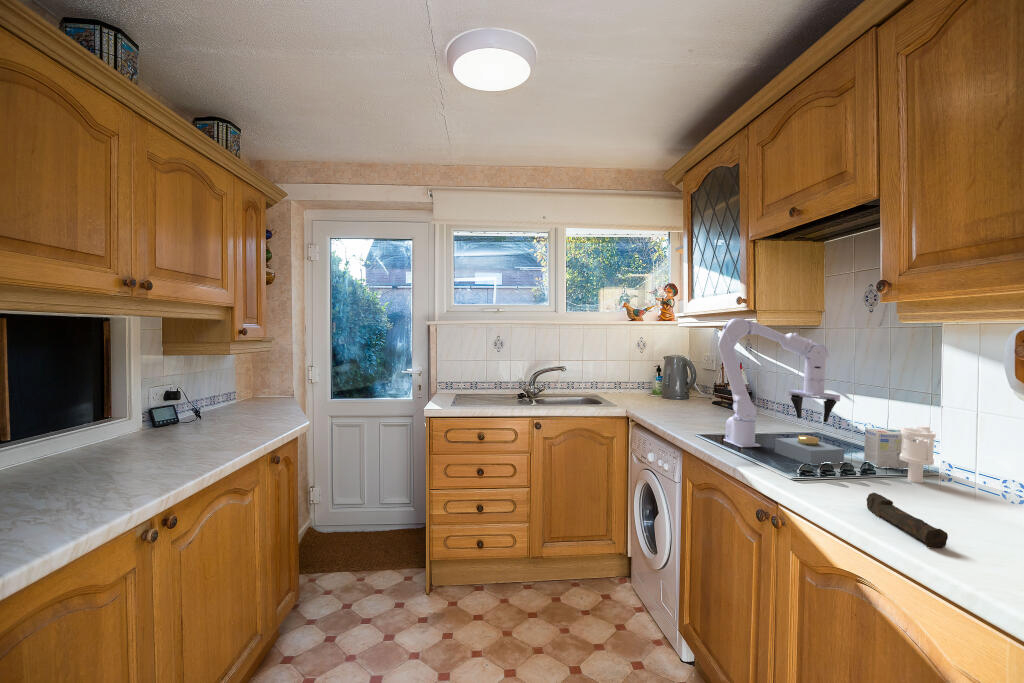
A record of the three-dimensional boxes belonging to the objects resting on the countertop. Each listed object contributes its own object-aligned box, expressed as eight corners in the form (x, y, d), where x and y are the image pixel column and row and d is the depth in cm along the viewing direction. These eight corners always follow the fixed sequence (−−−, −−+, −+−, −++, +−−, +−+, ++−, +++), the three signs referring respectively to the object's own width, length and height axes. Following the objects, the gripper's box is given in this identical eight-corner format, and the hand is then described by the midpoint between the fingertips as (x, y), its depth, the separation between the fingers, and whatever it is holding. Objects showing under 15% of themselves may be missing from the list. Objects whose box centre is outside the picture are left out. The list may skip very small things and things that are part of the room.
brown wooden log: (948, 551, 87) (950, 527, 87) (925, 549, 88) (927, 525, 87) (880, 510, 106) (881, 490, 106) (861, 509, 106) (862, 489, 106)
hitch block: (774, 452, 151) (775, 438, 151) (805, 450, 154) (806, 437, 153) (810, 465, 138) (811, 450, 137) (843, 463, 140) (844, 449, 140)
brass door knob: (792, 454, 148) (793, 435, 147) (807, 453, 149) (808, 434, 149) (807, 459, 142) (808, 440, 142) (822, 458, 143) (823, 439, 143)
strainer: (939, 484, 123) (942, 429, 122) (920, 486, 121) (923, 430, 120) (909, 475, 130) (913, 423, 129) (891, 477, 128) (894, 424, 127)
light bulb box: (899, 463, 141) (901, 428, 141) (916, 470, 135) (918, 434, 134) (862, 461, 142) (864, 427, 142) (877, 468, 136) (879, 432, 135)
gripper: (785, 377, 155) (784, 417, 156) (837, 382, 145) (834, 425, 145) (792, 376, 160) (790, 414, 161) (842, 381, 150) (840, 422, 150)
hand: (812, 419), depth 154 cm, fingers open, 7 cm apart
